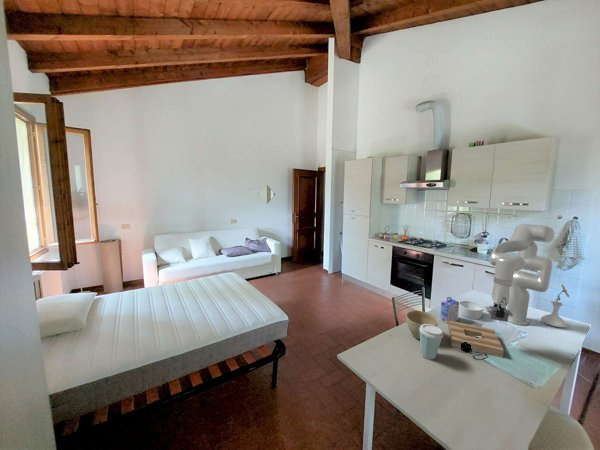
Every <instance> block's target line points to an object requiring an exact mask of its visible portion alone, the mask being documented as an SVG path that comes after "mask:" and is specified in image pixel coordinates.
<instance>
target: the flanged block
mask: <svg viewBox="0 0 600 450" xmlns="http://www.w3.org/2000/svg"><path fill="white" fill-rule="evenodd" d="M484 307H485V310H486V312H488V316H489V317H488V318H490V320H493V321H501V322H504V323H505V322H506V323H508V322H509V321H508V316H513V314H512V313H511V312H510V310H507V308H506V309H505V313H504V318H499V317H496V311H497V309H498V307H494V306H493V305H489V306H484Z"/></svg>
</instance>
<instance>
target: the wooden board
mask: <svg viewBox="0 0 600 450" xmlns="http://www.w3.org/2000/svg"><path fill="white" fill-rule="evenodd" d="M447 324H448V325H447V328H448V334H449V340H450V345H451V347H454V348H455V347H456V348H460V349H462V348H461V343H464V342H467V343H468V344H470V345H471V349H472V350H471V351H473V352H475V353H476V352H477V353H481V354H485V353H486V355H489V354H490V356H495V357H499V358H501V359H502V358H504V352H505V351H504V347H503V345H502V344H501V342H500V340H499V337H498V335H497V333H496V331H495V329H493V328H488V327H483V326H478V325H473V324H469V323H463V322H458V321H454V322H453V321H449V323H447ZM471 336H481V337H482V339H481V338H476V337H471Z"/></svg>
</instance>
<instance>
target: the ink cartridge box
mask: <svg viewBox="0 0 600 450" xmlns="http://www.w3.org/2000/svg"><path fill="white" fill-rule="evenodd" d="M459 302H460V301H458V300H456V299H453V298H452V297H451V296H448V297H446V300H443V301H441V302H440V303H441V305H440V306H441V308H440V318H439V319H440V321H442V322H444V323H445V324H449V321H453V322H458V321H459V312H460V311H459Z"/></svg>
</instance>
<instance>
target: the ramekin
mask: <svg viewBox="0 0 600 450" xmlns="http://www.w3.org/2000/svg"><path fill="white" fill-rule="evenodd" d="M458 302H459V311H458V312H459V313H460V315H461V316H462V317H465V318H467V319H470V320H479V319H480V318H481V317H482V314H483V311H484V306H482V305H481V304H480V303H477V302H475V301H471V300H461V301H458Z"/></svg>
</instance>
